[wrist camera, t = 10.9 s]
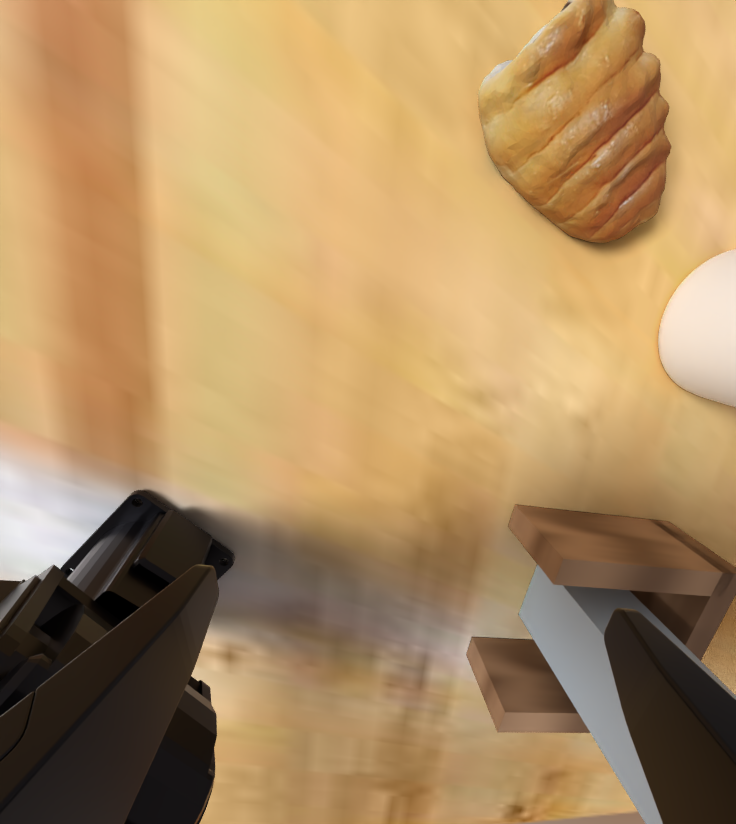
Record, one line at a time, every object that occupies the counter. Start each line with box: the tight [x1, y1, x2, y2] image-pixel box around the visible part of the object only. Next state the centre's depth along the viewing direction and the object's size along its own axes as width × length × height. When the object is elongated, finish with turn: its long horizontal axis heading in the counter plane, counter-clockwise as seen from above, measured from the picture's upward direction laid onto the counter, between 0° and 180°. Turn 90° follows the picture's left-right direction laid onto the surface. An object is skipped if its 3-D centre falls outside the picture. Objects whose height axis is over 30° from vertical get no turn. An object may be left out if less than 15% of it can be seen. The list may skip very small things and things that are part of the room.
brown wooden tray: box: [466, 505, 736, 733], centre depth 25 cm, size 11×12×5 cm
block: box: [518, 564, 736, 824], centre depth 21 cm, size 4×4×13 cm
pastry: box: [478, 0, 671, 243], centre depth 17 cm, size 9×7×4 cm
